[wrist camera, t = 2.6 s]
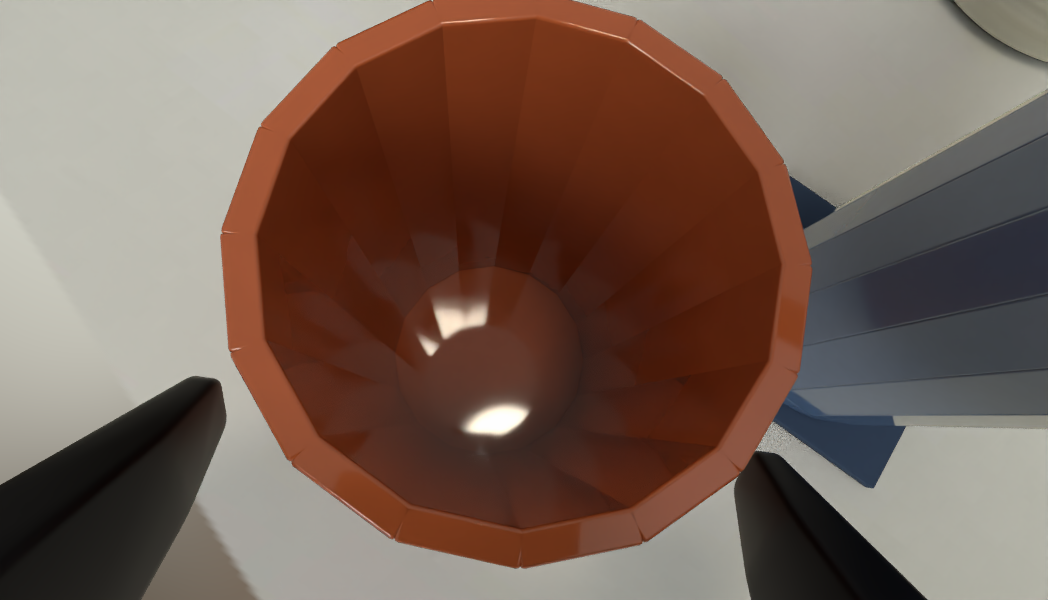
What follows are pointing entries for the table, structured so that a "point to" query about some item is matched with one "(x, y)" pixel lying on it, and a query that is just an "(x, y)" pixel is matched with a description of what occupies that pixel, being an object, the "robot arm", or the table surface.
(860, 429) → the blue mat
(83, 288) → the table surface
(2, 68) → the table surface
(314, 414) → the terracotta cup
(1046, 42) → the jar
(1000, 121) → the blue cup
